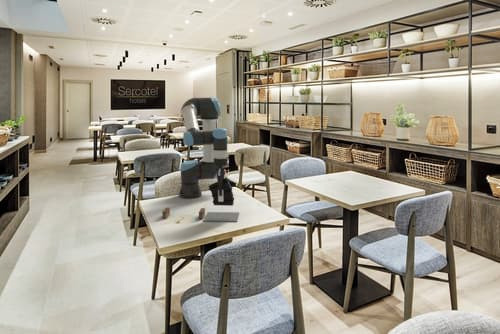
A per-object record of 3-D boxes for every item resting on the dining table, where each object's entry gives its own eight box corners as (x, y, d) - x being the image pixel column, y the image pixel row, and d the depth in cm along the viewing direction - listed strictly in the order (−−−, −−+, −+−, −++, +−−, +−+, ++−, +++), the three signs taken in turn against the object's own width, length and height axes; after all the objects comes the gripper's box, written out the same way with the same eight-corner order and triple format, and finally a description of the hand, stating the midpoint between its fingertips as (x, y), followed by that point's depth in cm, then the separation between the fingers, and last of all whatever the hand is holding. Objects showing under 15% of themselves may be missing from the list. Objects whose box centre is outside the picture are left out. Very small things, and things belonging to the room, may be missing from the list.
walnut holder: (162, 218, 190) (162, 211, 189) (166, 214, 196) (166, 207, 196) (202, 219, 188) (202, 212, 188) (205, 215, 195) (204, 208, 195)
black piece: (238, 203, 187) (226, 178, 185) (217, 212, 189) (204, 188, 187) (239, 201, 191) (227, 176, 189) (218, 210, 193) (206, 186, 191)
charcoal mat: (207, 213, 199) (207, 212, 199) (239, 213, 198) (239, 212, 198) (203, 221, 185) (203, 220, 185) (237, 221, 184) (237, 220, 184)
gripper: (215, 155, 193) (216, 195, 198) (210, 160, 177) (212, 204, 181) (229, 155, 193) (230, 196, 197) (225, 160, 176) (226, 204, 181)
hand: (221, 200), depth 189 cm, fingers closed on black piece, 4 cm apart
